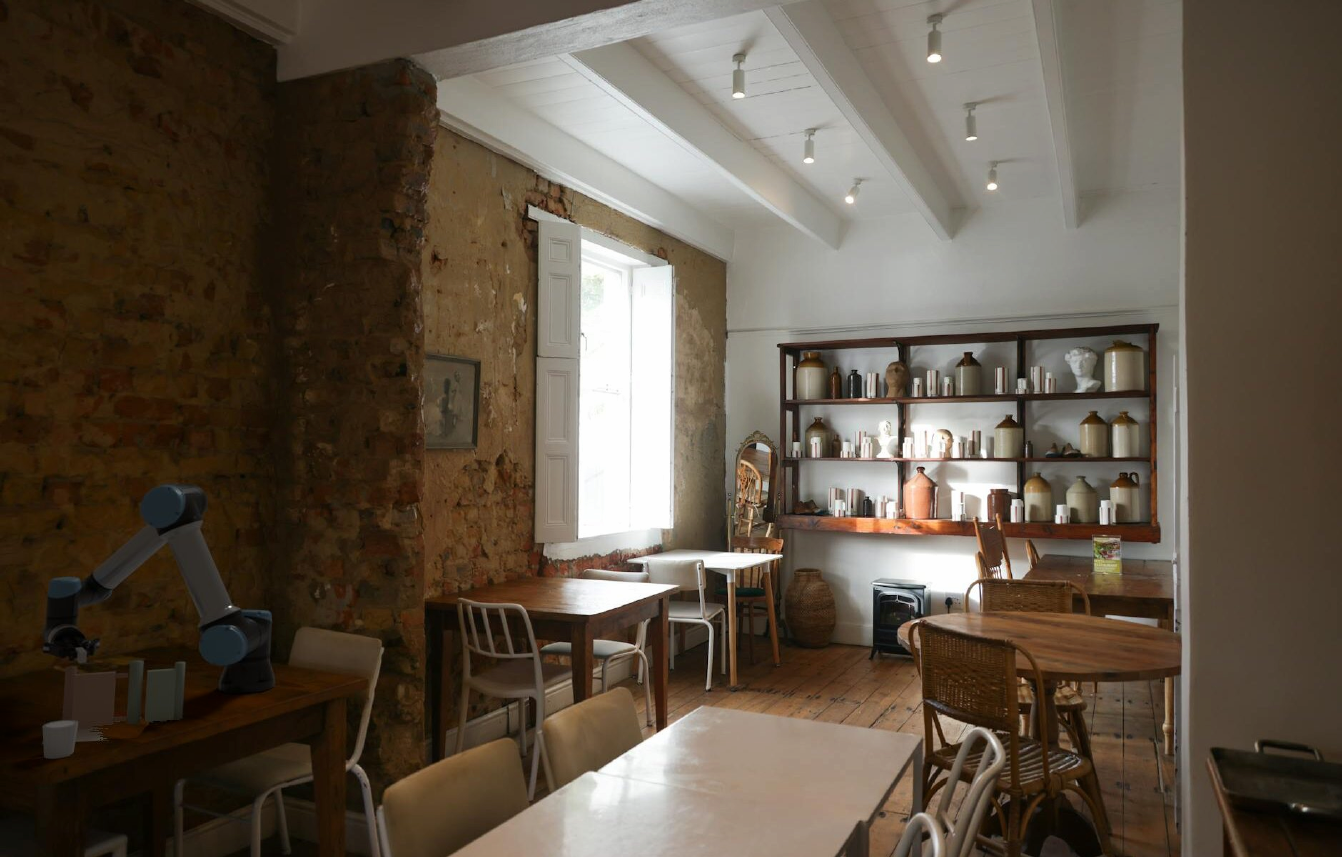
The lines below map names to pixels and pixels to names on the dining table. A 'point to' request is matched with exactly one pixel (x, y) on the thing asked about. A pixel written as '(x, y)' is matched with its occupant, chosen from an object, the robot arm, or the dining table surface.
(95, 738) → the card
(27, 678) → the dining table surface
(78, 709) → the gate panel
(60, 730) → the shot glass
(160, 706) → the fence post and fixed panel
